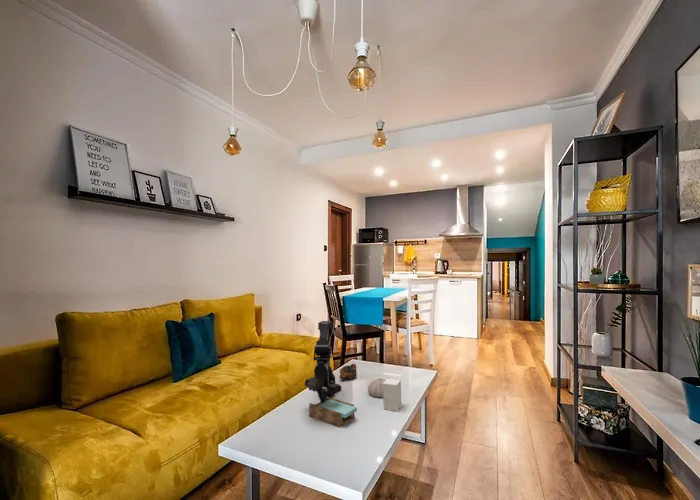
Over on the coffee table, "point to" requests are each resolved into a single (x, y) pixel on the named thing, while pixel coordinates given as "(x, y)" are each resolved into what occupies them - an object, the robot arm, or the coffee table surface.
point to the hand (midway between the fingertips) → (322, 403)
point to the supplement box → (392, 394)
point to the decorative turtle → (348, 372)
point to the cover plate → (339, 407)
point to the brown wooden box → (329, 414)
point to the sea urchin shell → (376, 387)
